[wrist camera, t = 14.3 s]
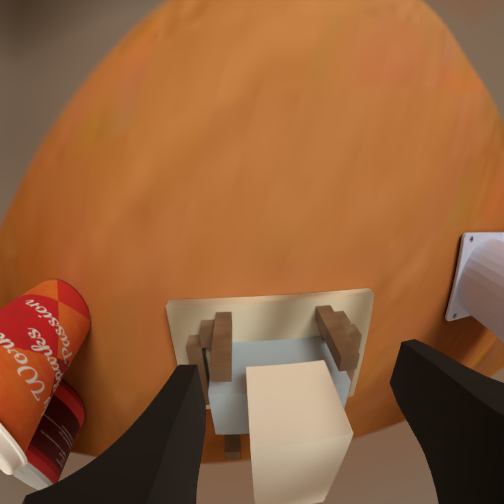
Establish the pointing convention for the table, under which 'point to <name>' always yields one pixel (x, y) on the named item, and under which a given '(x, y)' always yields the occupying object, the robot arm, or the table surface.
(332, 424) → the cream white block
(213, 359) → the jig
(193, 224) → the table surface
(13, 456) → the paper cup
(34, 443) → the canned food
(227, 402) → the grey block
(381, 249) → the table surface
